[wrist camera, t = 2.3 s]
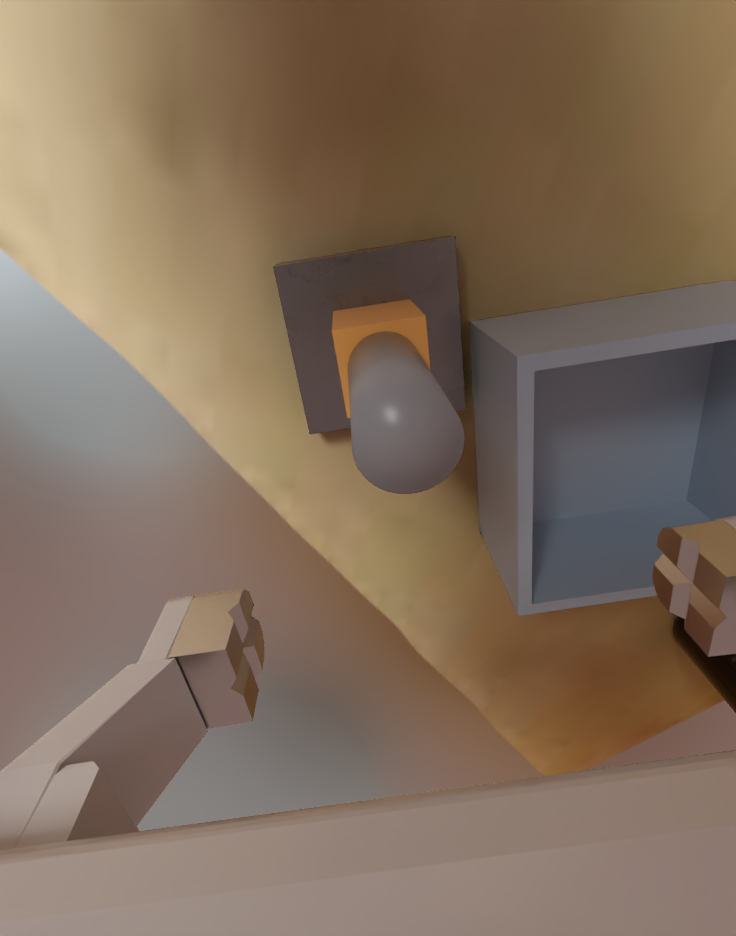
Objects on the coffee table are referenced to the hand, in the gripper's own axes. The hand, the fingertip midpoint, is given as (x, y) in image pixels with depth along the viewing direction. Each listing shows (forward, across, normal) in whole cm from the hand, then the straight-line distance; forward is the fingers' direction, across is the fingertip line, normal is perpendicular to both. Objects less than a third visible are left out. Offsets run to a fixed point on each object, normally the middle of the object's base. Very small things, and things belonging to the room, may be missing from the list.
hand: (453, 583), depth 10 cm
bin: (+23, -14, +8) cm, 28 cm away
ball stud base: (+23, 0, 0) cm, 23 cm away
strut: (+21, 0, 0) cm, 21 cm away
